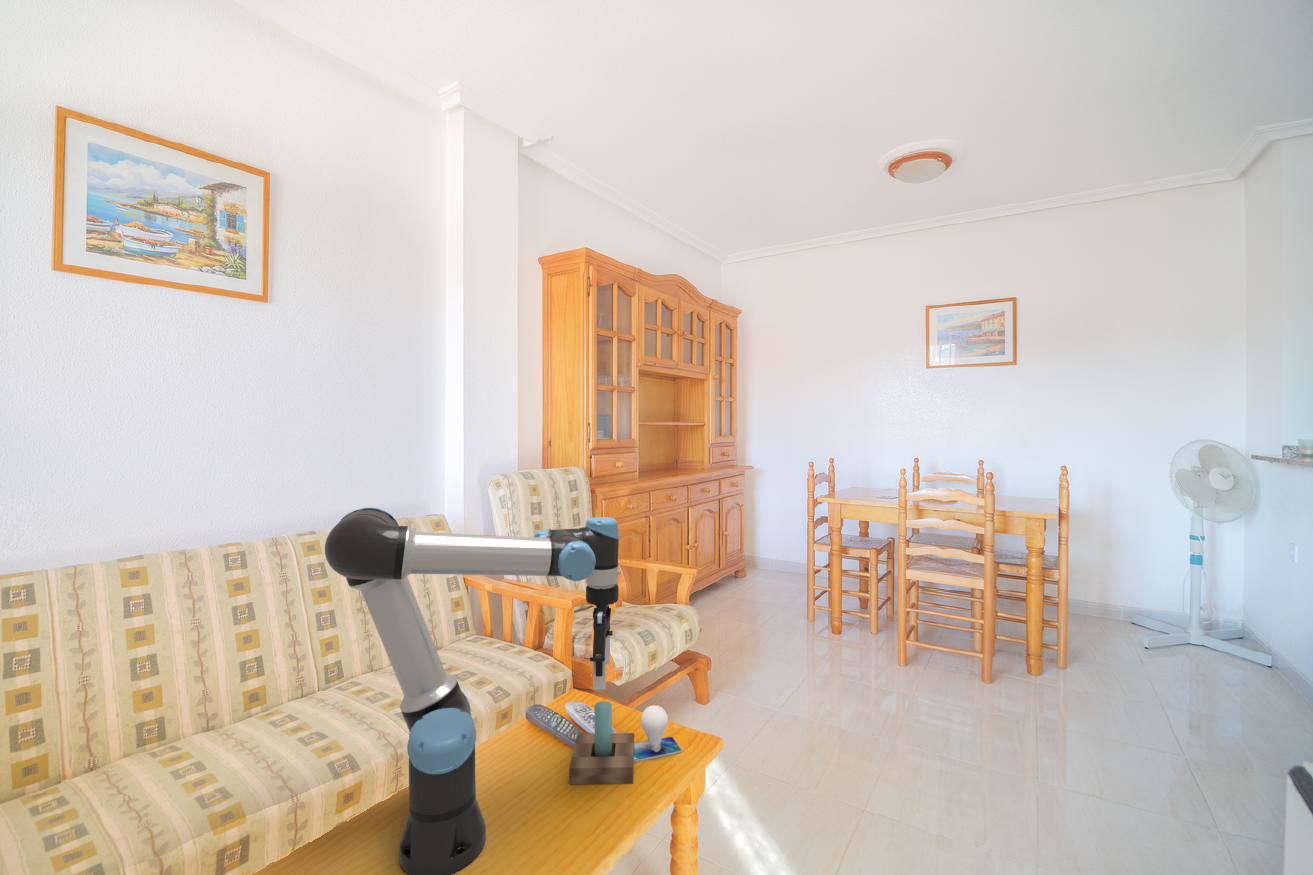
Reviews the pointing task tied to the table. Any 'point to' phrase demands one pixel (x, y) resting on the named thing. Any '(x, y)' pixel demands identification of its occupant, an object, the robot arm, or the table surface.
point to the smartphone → (667, 748)
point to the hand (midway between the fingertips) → (601, 675)
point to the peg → (603, 729)
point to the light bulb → (654, 726)
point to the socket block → (602, 761)
